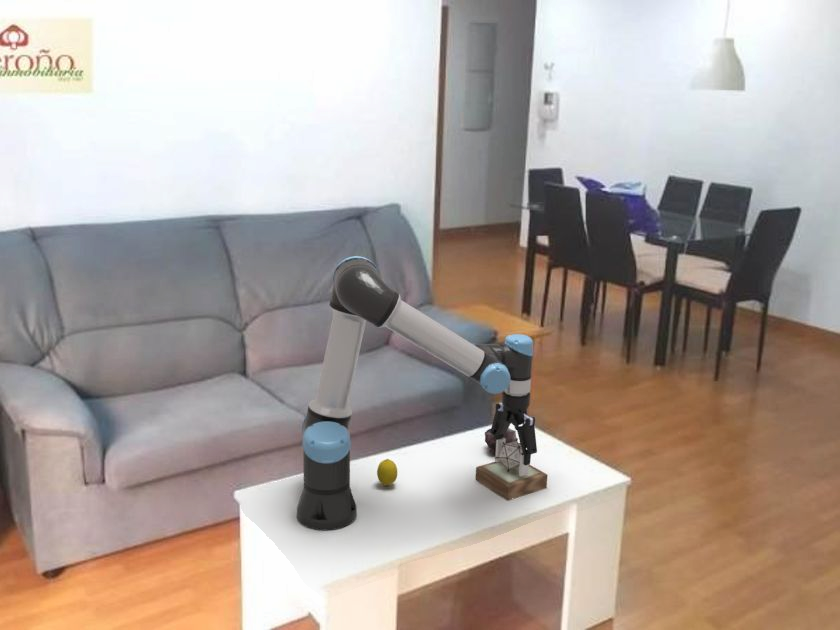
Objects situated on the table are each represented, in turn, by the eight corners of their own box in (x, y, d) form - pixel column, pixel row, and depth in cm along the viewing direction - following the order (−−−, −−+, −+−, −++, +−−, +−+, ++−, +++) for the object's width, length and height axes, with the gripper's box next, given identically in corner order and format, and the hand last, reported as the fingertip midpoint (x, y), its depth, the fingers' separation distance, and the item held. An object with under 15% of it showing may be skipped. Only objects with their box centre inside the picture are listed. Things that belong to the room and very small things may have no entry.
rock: (499, 448, 267) (476, 455, 260) (498, 421, 265) (475, 428, 259) (528, 454, 258) (505, 463, 251) (527, 427, 257) (504, 434, 250)
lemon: (385, 492, 233) (385, 465, 231) (372, 484, 237) (373, 458, 235) (401, 486, 237) (401, 460, 235) (388, 479, 241) (389, 453, 239)
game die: (504, 481, 239) (484, 455, 236) (516, 461, 245) (496, 435, 243) (529, 476, 233) (508, 448, 231) (540, 455, 239) (520, 428, 237)
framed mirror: (507, 500, 231) (508, 485, 230) (475, 480, 242) (476, 466, 241) (546, 487, 239) (547, 473, 237) (513, 468, 250) (514, 455, 248)
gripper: (554, 401, 226) (548, 479, 232) (500, 377, 244) (496, 450, 250) (533, 407, 222) (527, 486, 228) (479, 381, 240) (476, 455, 246)
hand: (511, 467), depth 239 cm, fingers closed on game die, 9 cm apart
